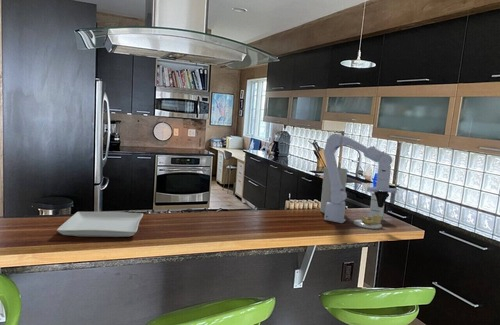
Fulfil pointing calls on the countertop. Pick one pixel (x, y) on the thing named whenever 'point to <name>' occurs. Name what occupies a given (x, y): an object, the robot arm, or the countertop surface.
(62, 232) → the square plate
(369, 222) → the gold lugged disc
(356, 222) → the cap plate
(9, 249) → the countertop surface
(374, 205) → the syrup box
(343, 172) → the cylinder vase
